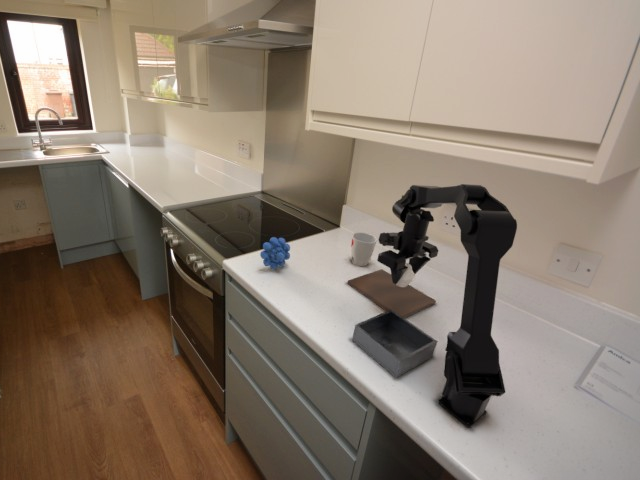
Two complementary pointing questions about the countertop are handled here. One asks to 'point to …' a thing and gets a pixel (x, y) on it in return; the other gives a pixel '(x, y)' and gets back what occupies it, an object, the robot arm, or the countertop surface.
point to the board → (391, 293)
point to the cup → (362, 248)
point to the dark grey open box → (394, 342)
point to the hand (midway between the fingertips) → (401, 280)
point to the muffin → (406, 277)
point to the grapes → (275, 252)
